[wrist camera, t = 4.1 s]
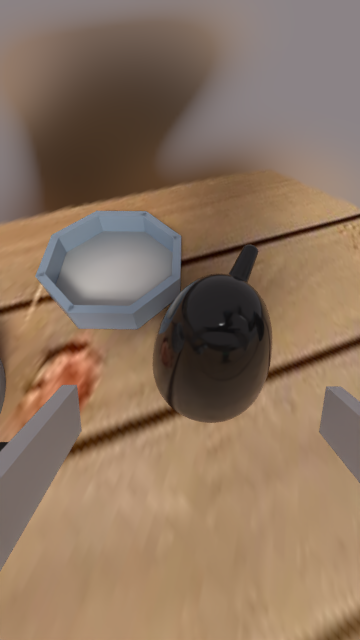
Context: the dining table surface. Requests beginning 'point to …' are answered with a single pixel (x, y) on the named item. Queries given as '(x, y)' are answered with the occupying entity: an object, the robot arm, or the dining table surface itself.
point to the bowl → (112, 269)
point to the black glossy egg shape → (215, 345)
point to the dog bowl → (2, 385)
